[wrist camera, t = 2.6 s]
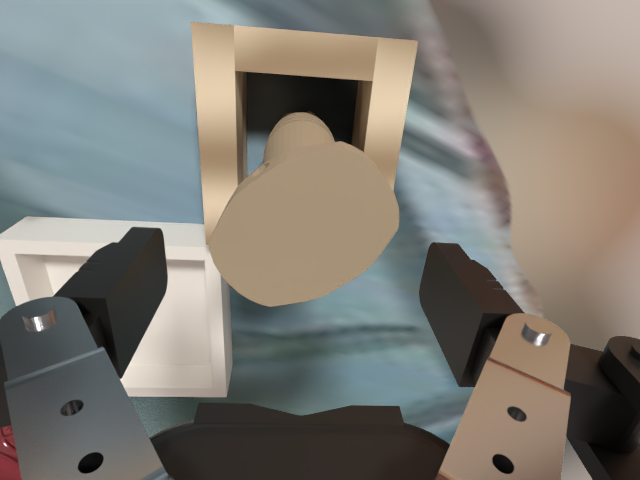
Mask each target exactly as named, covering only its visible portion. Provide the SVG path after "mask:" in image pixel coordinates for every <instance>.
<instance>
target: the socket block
mask: <svg viewBox="0 0 640 480" xmlns="http://www.w3.org/2000/svg"><path fill="white" fill-rule="evenodd" d="M191 30H192V45H193V60H194V75H195V90H196V105H197V120H198V134H199V149H200V164H201V179H202V194H203V209H204V224H205V239H206V245H209V241H210V238H211V236H212V234H213V231H214V229H215V227H216V225H217V223H218V221H219V219H220V217H221V215H222V213H223V211H224V209H225V207H226V205H227V203H228V201H229V200H230V198H231V196H232V195H233V193H234V191H235V190H236V188H237V187H238V185H239V184H240V183H241V182H242V181H243V180H244V179H246V178H247V90H246V72H257V73H271V74H284V75H298V76H311V77H324V78H338V79H351V80H358V88H357V98H356V107H355V116H354V125H353V134H352V143H351V145H352V146H354V147H356V148H357V149H359V150H361V151H363V152H364V153H365V154H366V155H367V156H368V157H369V158H370V159H371V160H372V161H374V163H375V164H376V165H377V167H378V168H379V169H380V171H381V172H382V173H383V175H384V176H385V178H386V179H387V181H388V183H389V185H390V186H391V188H392V190H393V188H394V182H395V176H396V170H397V164H398V158H399V152H400V146H401V140H402V134H403V128H404V122H405V116H406V110H407V105H408V99H409V93H410V87H411V81H412V75H413V69H414V63H415V57H416V51H417V45H418V41H414V40H402V39H390V38H378V37H366V36H355V35H343V34H331V33H319V32H307V31H295V30H283V29H271V28H259V27H247V26H235V25H223V24H211V23H199V22H191ZM382 252H383V251H382Z"/></svg>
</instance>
